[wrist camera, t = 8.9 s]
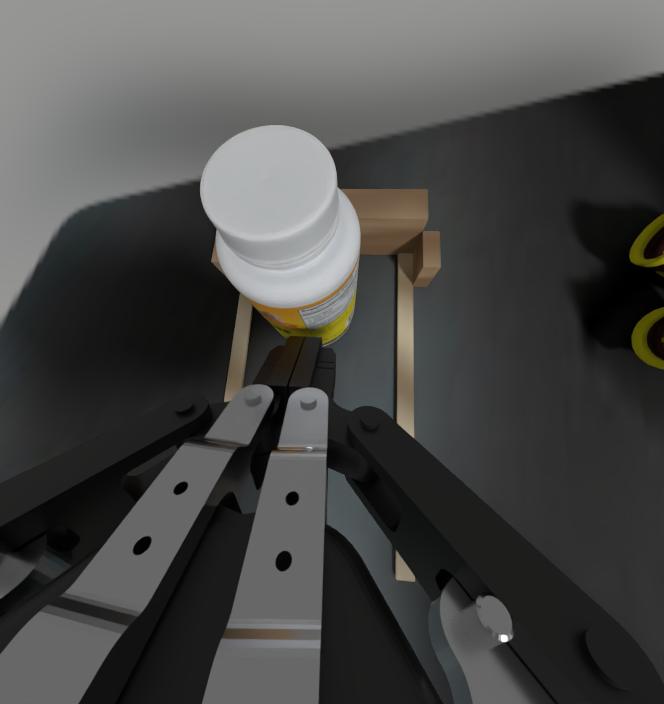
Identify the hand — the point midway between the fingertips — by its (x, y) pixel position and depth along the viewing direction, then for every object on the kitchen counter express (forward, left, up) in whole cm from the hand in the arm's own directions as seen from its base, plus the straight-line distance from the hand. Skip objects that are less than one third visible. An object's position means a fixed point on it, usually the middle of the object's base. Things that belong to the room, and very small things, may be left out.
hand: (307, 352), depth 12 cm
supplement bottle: (-2, -3, -5) cm, 6 cm away
